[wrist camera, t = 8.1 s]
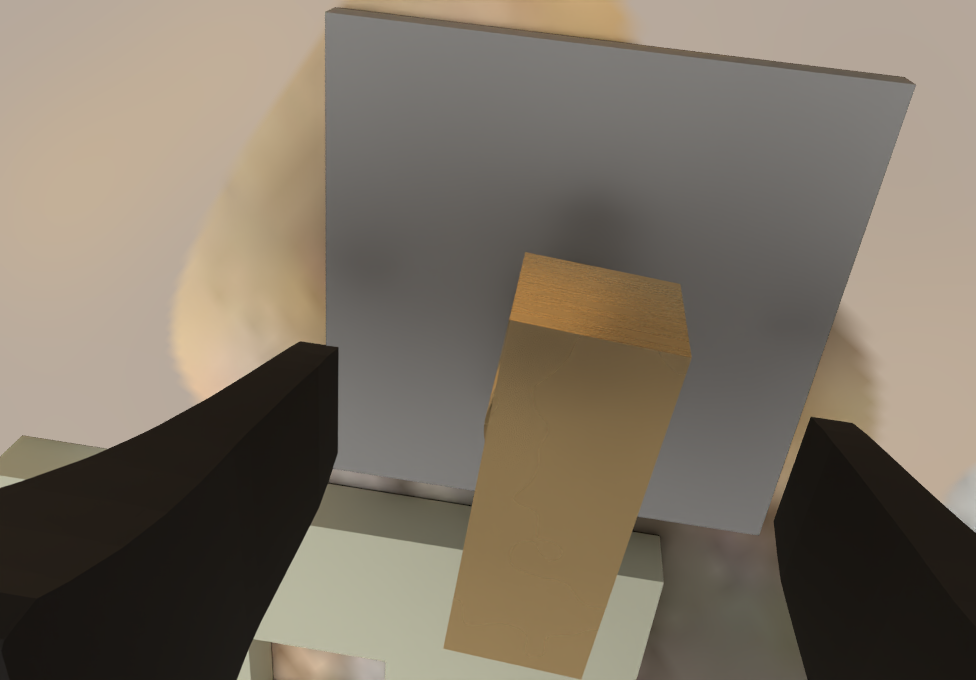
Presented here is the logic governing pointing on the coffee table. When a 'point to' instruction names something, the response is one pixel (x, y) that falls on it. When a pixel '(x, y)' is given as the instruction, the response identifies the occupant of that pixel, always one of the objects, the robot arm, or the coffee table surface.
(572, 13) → the coffee table surface
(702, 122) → the felt pad
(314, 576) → the plate
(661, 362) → the t key
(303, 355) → the robot arm
